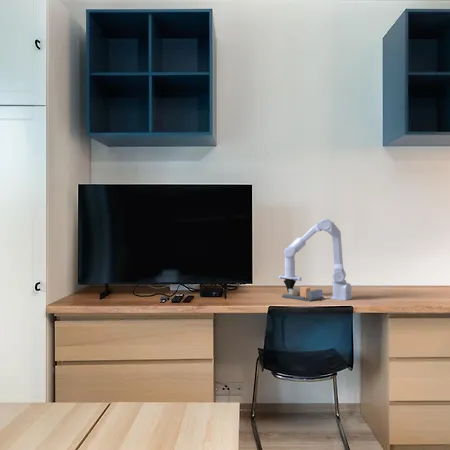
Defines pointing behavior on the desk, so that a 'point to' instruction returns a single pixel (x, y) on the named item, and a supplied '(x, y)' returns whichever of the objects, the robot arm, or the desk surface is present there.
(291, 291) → the moving jaw
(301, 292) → the block
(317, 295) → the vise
